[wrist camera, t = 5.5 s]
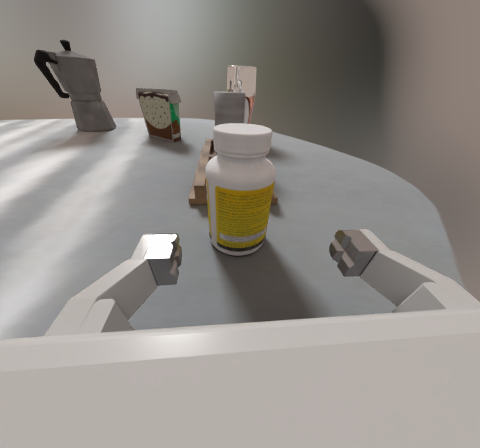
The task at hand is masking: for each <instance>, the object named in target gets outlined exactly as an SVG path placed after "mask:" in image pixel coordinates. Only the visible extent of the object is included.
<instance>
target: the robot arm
mask: <svg viewBox="0 0 480 448" xmlns="http://www.w3.org/2000/svg"><path fill="white" fill-rule="evenodd" d="M178 244H179V236H178V234H144V235H143V236H142V238H141V240H140V241H139V243H138V245H137V247H136V249H135V251H134V253H133V255H132V257H131V259H130V260H126V261H124V262H123V263H121V264H120V265H119V266H117V267H116V268H114V269H113V270H111V271H110V272H108V273H107V274H106V275H104V276H103V277H101V278H100V279H98V280H97V281H95V282H94V283H93V284H91V285H90V286H88V287H87V288H85V289H84V290H83V291H81V292H80V293H78V294H77V295H75V296H74V297H72V298H71V299H70V300H69V301H68V302H67V303H66V305H65V306H64V308H63V309H62V311H61V312H60V313H59V315H58V316H57V318H56V319H55V321H54V322H53V323H52V325H51V326H50V328H49V329H48V331H47V332H46V333H45V335H44V336H43V337H29V338H15V339H0V448H480V302H479V301H478V300H476V299H475V298H474V297H473V296H472V295H470V294H469V293H468V292H467V291H466V290H465V289H463V288H462V287H461V286H460V285H459V284H458V283H456V282H455V281H454V280H452V279H450V278H448V277H446V276H444V275H442V274H440V273H438V272H436V271H434V270H432V269H430V268H428V267H425V266H423V265H421V264H419V263H417V262H415V261H413V260H411V259H409V258H407V257H405V256H403V255H401V254H399V253H397V252H395V251H390V250H389V249H388V248H387V247H386V246H385V245H384V244H383V243H382V242H381V241H380V240H379V239H378V238H377V237H376V236H375V235H374V234H373V233H372V232H371V231H370V230H367V229H359V230H338V231H337V232H336V234H335V240H334V241H333V242H331V245H330V247H329V252H330V255H331V257H332V259H333V260H335V261H336V262H338V265H337V267H338V268H339V270H340V271H341V273H342V274H343V276H344V277H348V276H360V278H361V279H363V280H364V281H365V282H367V283H368V284H369V285H370V286H372V287H373V288H374V289H376V290H377V291H378V292H379V293H381V294H382V295H383V296H384V297H386V298H387V299H388V300H390V301H391V302H392V303H393V304H395V305H396V306H397V307H396V308H395V309H394V310H393V311H392V313H383V314H368V315H353V316H338V317H324V318H309V319H294V320H279V321H264V322H250V323H235V324H221V325H206V326H191V327H177V328H162V329H147V330H134V329H133V327H132V326H131V324H130V323H129V321H128V320H129V318H130V317H131V316H132V315H133V314H134V313H135V312H136V311H137V310H138V308H139V307H140V306H141V305H142V304H143V303H144V302H145V301H146V299H147V298H148V297H149V296H150V295H151V294H152V293H153V292H154V290H155V289H156V288H157V287H158V286H161V285H174V284H177V280H178V275H179V270H178V267H179V266H180V265H181V261H182V250H181V246H180V245H178Z"/></svg>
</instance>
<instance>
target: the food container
mask: <svg viewBox="0 0 480 448" xmlns="http://www.w3.org/2000/svg"><path fill="white" fill-rule="evenodd" d="M136 95H137V99H139V102H140V106H141V109H142V113H143V116H144V119H145V123H146V126H147V130H148V133H149V136H152V137H156V138H160V139H164V140H168V141H171V142H176V141H178V140H180V139H181V133H180V118H179V103H180V102H181V99H180V96H179V94H178V92H177V91H175V90H165V89H143V88H141V89H140V88H136Z"/></svg>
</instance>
